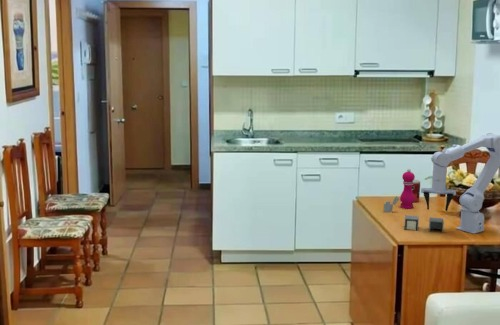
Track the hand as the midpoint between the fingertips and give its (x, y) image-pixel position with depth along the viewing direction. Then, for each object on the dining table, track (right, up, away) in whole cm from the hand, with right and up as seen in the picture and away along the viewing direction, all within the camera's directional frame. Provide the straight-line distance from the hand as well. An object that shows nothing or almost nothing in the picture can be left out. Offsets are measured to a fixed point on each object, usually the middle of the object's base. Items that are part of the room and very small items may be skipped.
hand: (437, 209), depth 261 cm
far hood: (-10, -9, +5) cm, 14 cm away
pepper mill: (-2, -2, +42) cm, 42 cm away
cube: (-10, -9, +5) cm, 14 cm away
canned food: (+4, 0, +56) cm, 56 cm away
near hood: (0, -9, +2) cm, 9 cm away
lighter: (-13, -4, +32) cm, 35 cm away
